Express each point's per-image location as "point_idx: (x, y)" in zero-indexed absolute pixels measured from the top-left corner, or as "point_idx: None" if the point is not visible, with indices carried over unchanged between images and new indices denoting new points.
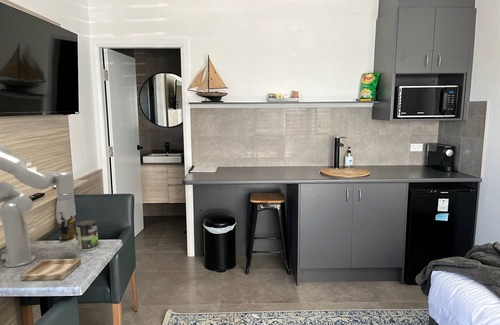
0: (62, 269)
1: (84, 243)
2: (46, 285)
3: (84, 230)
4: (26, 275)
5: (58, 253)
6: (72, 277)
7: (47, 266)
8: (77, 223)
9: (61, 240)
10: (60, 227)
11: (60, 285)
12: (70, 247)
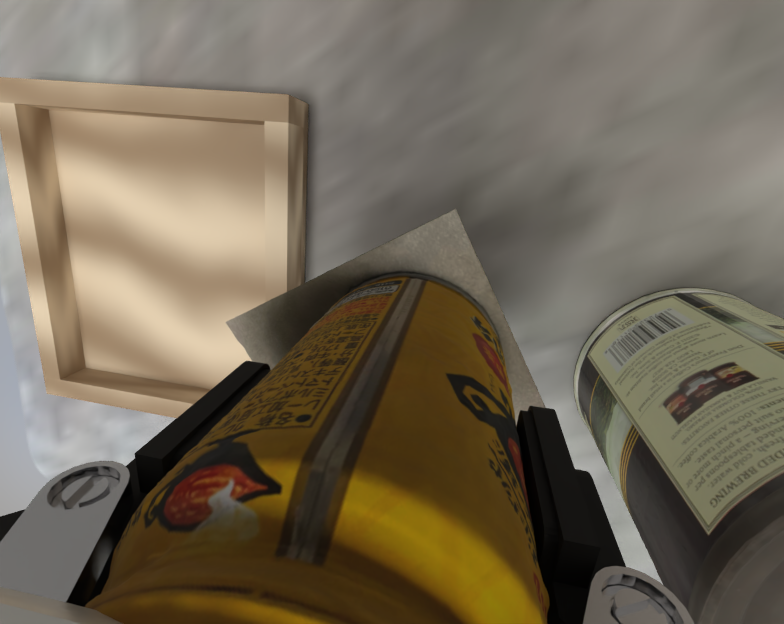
0: (191, 328)
1: (595, 411)
2: (17, 305)
3: (657, 546)
4: (3, 130)
5: (577, 117)
6: (115, 419)
7: (241, 180)
8: None
9: (319, 305)
10: (161, 431)
11: (29, 384)
12: (745, 181)
